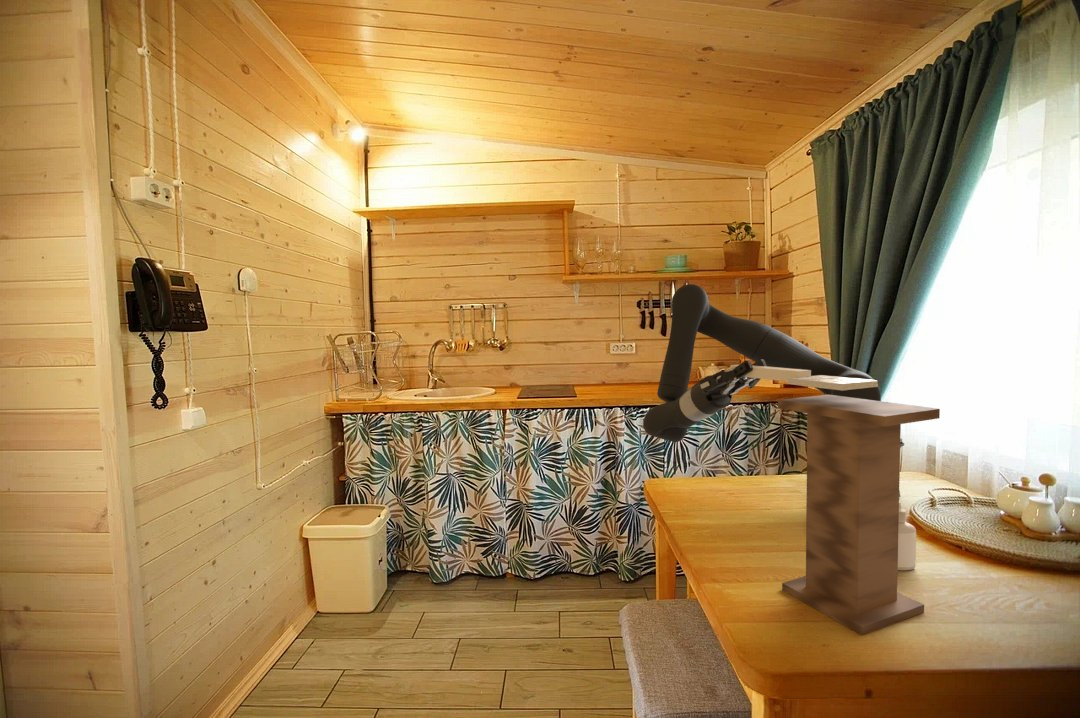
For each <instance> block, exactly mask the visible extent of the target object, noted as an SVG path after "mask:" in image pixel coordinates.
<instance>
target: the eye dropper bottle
mask: <svg viewBox="0 0 1080 718" xmlns="http://www.w3.org/2000/svg"><path fill="white" fill-rule="evenodd" d="M916 556H917V529H916V527H915V526H914V525H912V524H911V523H909V522H907V511H906V509H903V508H902V505H901V502H900V501H899V526H898V571H910V570H914V569H915V568H916V565H917V564H916V562H917V560H916V559H917V557H916Z"/></svg>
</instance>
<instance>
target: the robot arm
mask: <svg viewBox="0 0 1080 718" xmlns="http://www.w3.org/2000/svg"><path fill="white" fill-rule="evenodd" d="M670 306H671V326H670V327H671V328H670V333H669V339H668V345H667V348H666V352H665V355H664V361H663V365H662V369H661V373H660V374H661V375H660V379H659V383H658V388H657V393H656V394H657V397H658V398H659V399H660V400H662V401H663V402H665V403H660V404H657V405H655V406H653V407H651V408H650V409H649V410H648V411H647V412H646V413H645V415H644V418H643V420H642V426H643V427H642V428H643V430H644V431H645V433H646V434H648V436H651V437H654V438H657V439H661V440H664V441H668V442H672V443H679V442H680V441H682V440H683V439H684V438H685V437H686V434H687V432H688V428H690V427H692V426H694V425H696V424H698V423H699V422H701V421H703V420H705V419H708V418H710V417H712V416H713V415H715V414H716V413H719V412H720V411H721V410H723V409H725V408H727V407H728V406H729V405H730V403H731V402H732V399H733V398H732V397H733V395H735V394H737V393H739V391H741V390H742V389H744V388H746V387H747V389H753V388H754V387H755V386H756V385H757V384H758V383H759V382H760V380H761V379H760V378H751V377H743V376H745V375H746V374H748V373H750V372H751V371H752V370H753V366H752V365H755V366H767V367H778V368H790V369H802V370H811V376H817V375H826V376H836V377H847V378H858V379H868V380H875V379H874V378H873V377H872V376H870V374H868V373H866V372H864V371H862V370H858V369H855V368H851V367H849V366H846V365H844V364H841V363H838V362H836V361H833V360H831V359H829V358H826V357H824V356H822V355H820V354H818V353H817V352H815V351H814V350H812V349H811V348H809V346H807V345H805V344H803V343H801V342H800V341H798V340H797V339H795V338H794V337H791V336H790V335H788V334H787V333H784V332H782V331H780V330H778V329H776V328H774V327H772V326H770V325H768V324H765V323H762V322H758V321H754V320H752V319H751V320H749V319H745V318H742V317H741V318H740V317H736V316H733V315H730V314H728V313H725V312H724V311H723V310H720V309H718V308H717V307H715V306H713V304H710V301H709V296H708V294H707V292H706V290H705V289H704V288H703V287H701V286H699V285H697V284H694V283H692V284H691V283H689V284H684V285H682V286H680V287H679V288H678V289H676V291H675V292H674V294H673V296H672V298H671V303H670ZM698 333H700V334H702V335H704V336H707V337H709V338H711V339H714V340H716V341H717V342H719V343H721V344H723V345H724V346H726V347H728V348H730V349H731V350H732V351H735V352H736V353H738V354H740V355H742V356H744V357H745V358H747V359H748V360H744V361H742V362H741V363H740V364H737V365H738V366H737V367H735V368H731V369H730V368H729V369H728V370H727V371H726V369H721V370H719V371H717V372H716V373H713V374H711V375H706V376H704V377H703V378H702V379H700V380H699V381H698V382H696V383H695V384H693V385H692V386H690V387H689V383H690V380H691V372H692V367H693V357H694V351H695V349H694V348H695V342H696V338H697V334H698ZM751 361H753V362H754V363H752V362H751ZM814 389H816V390H819V392H821V393H823V395H836V396H844V397H851V398H859V399H867V400H875V401H882V398H881V395H882V394H881V389H880V386H879V385H878V387H870V388H861V389H852V390H843V391H842V390H834V389H825V388H817V387H814Z"/></svg>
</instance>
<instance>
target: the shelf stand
mask: <svg viewBox="0 0 1080 718" xmlns="http://www.w3.org/2000/svg"><path fill="white" fill-rule="evenodd" d="M777 408H778V409H780V410H781V409H782V410H787V411H793V412H799V413H804V414H806V415H807V417H806V419H807V420H806V423H807V425H806V426H807V427H806V510H805V511H806V517H805V518H806V523H805V524H806V526H805V538H806V539H805V576H800V577H797V578H795V579H791V580H787V581H784V582H782V584H781V585H782V586H781V589H782V591H784V592H785V593H787V594H789V595H790V596H792V597H794V598H795V599H797V600H799V601H801V602H803V603H805V604H806V605H808V606H811V607H812V608H814V609H816V610H817V611H819V612H820V613H822V614H824V615H825V616H828V617H829V618H831V619H833V620H834V621H836V622H838V623H840V624H842V625H843V626H845V627H847V628H848V629H850V630H852V631H853V632H855V633H857V634H859V635H861V636H863V635H867V634H869V633H871V632H875V631H877V630H880V629H883V628H885V627H888V626H890V625H893V624H895V623H899V622H901V621H904V620H907V619H909V618H911V617H915V616H916V615H920V614H923V613H925V604H924V603H921V602H919V601H917V600H916V599H913V598H911V597H908V596H907V595H904V594H902V593H900V592H898V571H899V570H898V526H899V502H900V497H899V490H900V479H901V477H900V475H901V474H900V473H901V471H900V469H901V468H900V466H901V465H900V464H901V448H900V438H901V427H902V425H904V424H910V423H918V422H923V421H933V420H936V419H937V420H938V419H940V415H941V413H940V412H941V411H940V410H941V409H940V408H936V407H928V406H922V405H921V406H919V405H913V404H912V405H911V404H904V403H897V402H889V401H882V400H881V401H875V400H867V399H859V398H851V397H844V396H836V395H826V394H821V395H813V396H812V395H811V396H802V397H793V398H783V399H777Z"/></svg>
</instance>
